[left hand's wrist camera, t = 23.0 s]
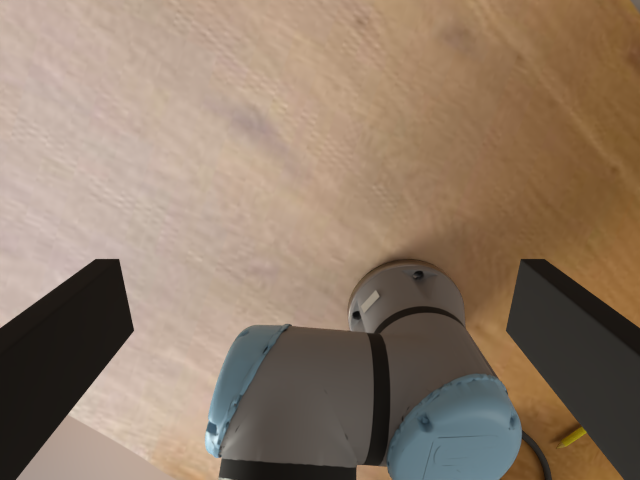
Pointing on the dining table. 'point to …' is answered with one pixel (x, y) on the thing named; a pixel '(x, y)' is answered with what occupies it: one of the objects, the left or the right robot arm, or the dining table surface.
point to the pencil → (572, 437)
